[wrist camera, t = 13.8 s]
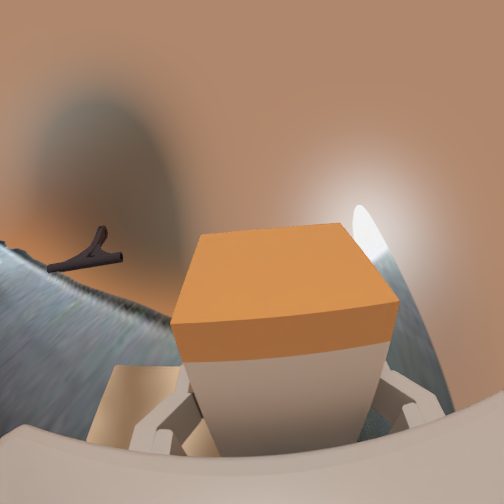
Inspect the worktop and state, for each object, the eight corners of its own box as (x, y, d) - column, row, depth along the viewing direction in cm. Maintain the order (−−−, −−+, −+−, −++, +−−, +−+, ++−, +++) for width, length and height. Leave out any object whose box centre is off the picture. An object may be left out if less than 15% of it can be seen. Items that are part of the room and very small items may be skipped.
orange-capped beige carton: (239, 494, 11) (170, 323, 6) (240, 419, 16) (202, 232, 11) (337, 484, 11) (399, 301, 6) (322, 411, 16) (338, 220, 11)
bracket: (138, 230, 56) (134, 217, 55) (121, 264, 43) (117, 247, 42) (77, 242, 55) (73, 230, 53) (49, 276, 41) (43, 262, 40)
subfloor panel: (68, 543, 7) (56, 538, 7) (120, 374, 22) (115, 364, 21) (372, 563, 7) (379, 561, 6) (327, 366, 21) (328, 354, 21)
